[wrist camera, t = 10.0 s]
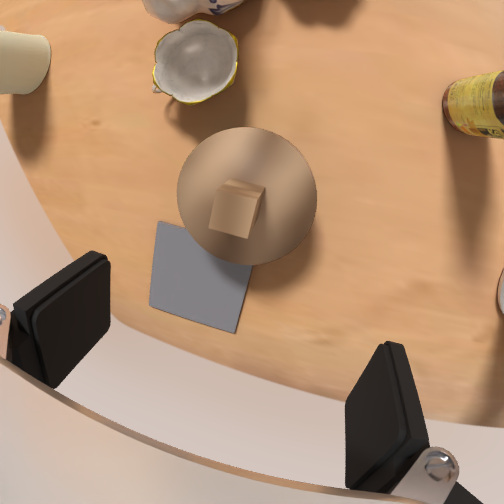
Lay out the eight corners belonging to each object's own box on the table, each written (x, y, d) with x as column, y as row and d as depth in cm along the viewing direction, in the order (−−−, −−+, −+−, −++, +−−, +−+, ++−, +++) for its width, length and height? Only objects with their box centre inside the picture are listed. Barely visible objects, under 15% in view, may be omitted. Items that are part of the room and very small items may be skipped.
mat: (257, 248, 37) (256, 250, 36) (235, 330, 42) (234, 333, 41) (159, 220, 38) (157, 222, 37) (150, 303, 42) (148, 305, 42)
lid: (333, 148, 26) (341, 154, 20) (294, 275, 31) (291, 308, 25) (194, 114, 27) (168, 113, 21) (172, 240, 32) (145, 265, 26)
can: (37, 24, 29) (-22, 14, 18) (60, 58, 31) (-6, 52, 20) (5, 70, 32) (-53, 72, 21) (25, 106, 34) (-38, 114, 23)
